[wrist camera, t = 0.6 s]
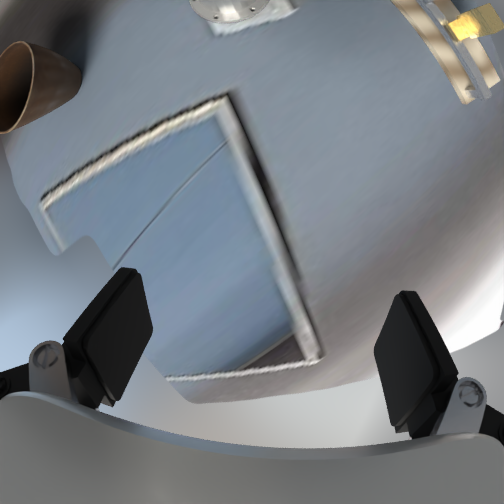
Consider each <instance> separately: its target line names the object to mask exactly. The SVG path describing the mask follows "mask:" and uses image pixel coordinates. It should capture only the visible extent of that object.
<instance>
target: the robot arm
mask: <svg viewBox="0 0 504 504" xmlns="http://www.w3.org/2000/svg"><path fill="white" fill-rule="evenodd" d="M189 1H190V5H191V7H192V8H193V10H194V11H195V12H196V13H197V14H198V15H199V16H200V17H202V18H204V19H206V20H208V21H211V22H215V23H235V22H240V21H243V20H246V19H248V18H251V17H253V16H254V15H256V14H257V13H259V12H260V11H261V10H262V9H263V8H264V7H265V6H266V4H267V3H268V1H269V0H196V1H195V0H189ZM252 10H254V11H253V12H252ZM217 17H218V19H216V18H217ZM152 332H153V326H152V322H151V318H150V313H149V309H148V305H147V300H146V296H145V291H144V286H143V282H142V277H141V274H140V273H138V272H137V270H136V269H133V268H125V267H121V268H120V269H119V270H118V271H117V272H116V273H115V274H114V276H113V277H112V278H111V279H110V280H109V281H108V283H107V284H106V285H105V286H104V287H103V288H102V290H101V291H100V292H99V293H98V294H97V296H96V297H95V298H94V300H92V302H91V303H90V304H89V305H88V307H87V308H86V309H85V310H84V312H83V313H82V314H81V315H80V317H79V318H78V319H77V320H76V322H75V323H74V325H73V326H72V327H71V328H70V330H69V331H68V332H67V333H66V335H65V336H64V337H63V340H64V343H63V344H62V345H61V344H60V343H58V342H56V341H45V342H43V343H40V344H39V345H37V346H36V347H35V348H34V349H33V350H32V352H31V354H30V357H29V363H27V364H24V365H21V366H18V367H15V368H12V369H9V370H6V371H3V372H0V504H504V414H502V413H500V412H499V411H497V410H495V409H494V408H492V407H490V406H489V405H487V404H486V402H487V395H486V391H485V389H484V387H483V386H482V385H481V384H480V382H478V381H477V380H475V379H473V378H470V377H465V378H461V379H460V380H458V378H457V375H458V370H457V368H456V366H455V364H454V362H453V360H452V357H451V355H450V353H449V351H448V349H447V347H446V345H445V343H444V341H443V339H442V337H441V335H440V333H439V331H438V329H437V328H436V326H435V324H434V322H433V320H432V318H431V316H430V315H429V313H428V311H427V309H426V308H425V306H424V304H423V302H422V301H421V299H420V297H419V295H418V294H417V292H416V291H401V292H400V293H399V294H397V295H396V296H395V297H394V300H393V303H392V305H391V308H390V310H389V313H388V315H387V318H386V320H385V323H384V325H383V328H382V330H381V332H380V335H379V337H378V339H377V341H376V344H375V346H374V356H375V360H376V364H377V368H378V371H379V375H380V379H381V383H382V387H383V392H384V396H385V400H386V405H387V409H388V413H389V419H390V423H391V425H392V426H395V431H396V433H401V432H408V431H409V435H410V437H409V439H408V440H406V441H399V442H392V443H384V444H377V445H368V446H357V447H344V448H321V449H320V448H317V449H298V448H271V447H258V446H247V445H238V444H230V443H223V442H216V441H210V440H204V439H199V438H193V437H188V436H183V435H179V434H174V433H170V432H165V431H162V430H158V429H154V428H150V427H146V426H143V425H140V424H136V423H133V422H130V421H126V420H123V419H120V418H117V417H114V416H111V415H108V414H105V413H102V412H100V411H99V408H98V407H99V405H100V403H103V404H105V405H108V406H111V407H113V406H114V404H115V402H116V401H119V400H120V399H121V397H122V395H123V392H124V390H125V388H126V386H127V384H128V382H129V380H130V378H131V376H132V374H133V372H134V370H135V368H136V366H137V364H138V361H139V359H140V357H141V355H142V353H143V351H144V349H145V347H146V345H147V343H148V342H149V340H150V338H151V336H152Z"/></svg>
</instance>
